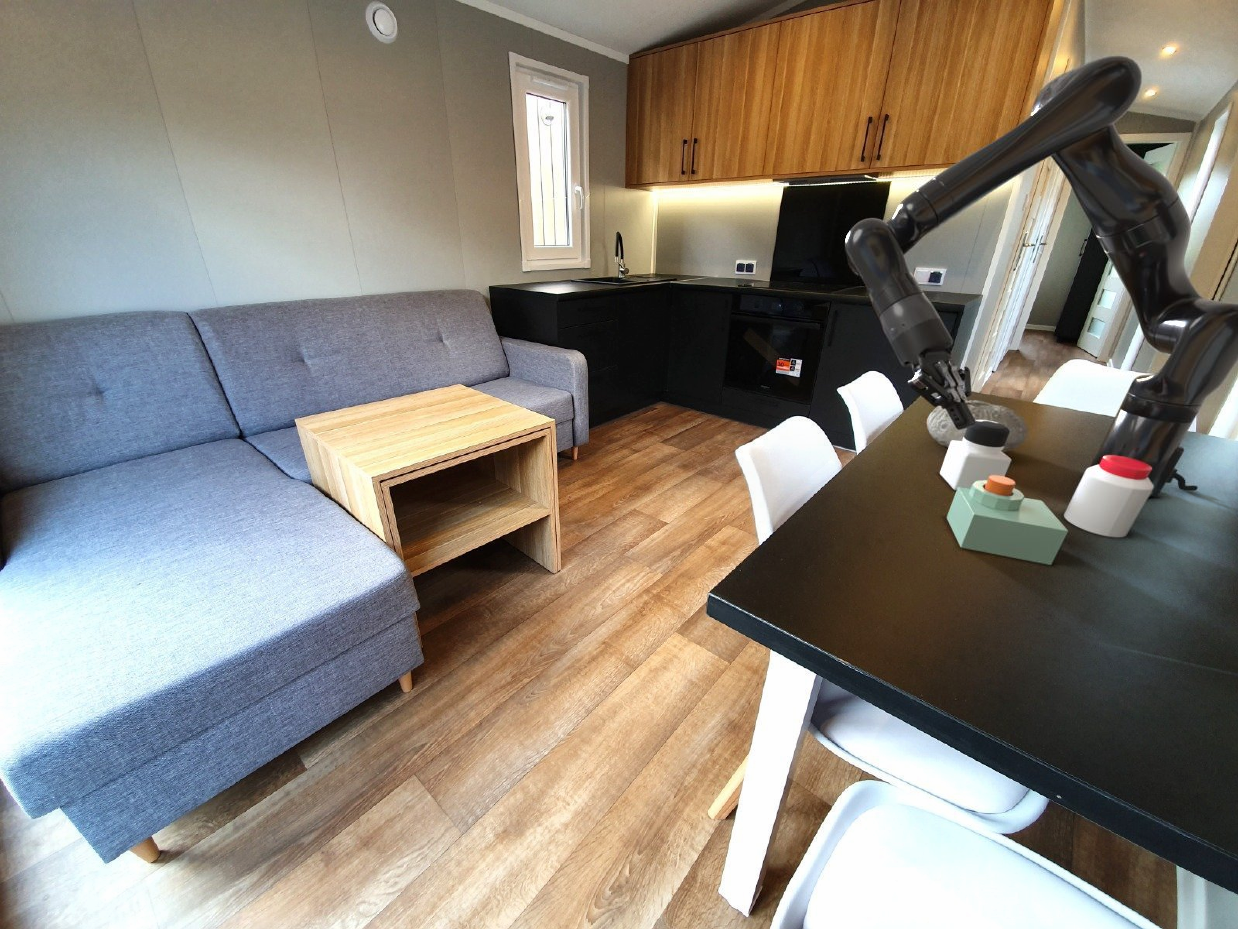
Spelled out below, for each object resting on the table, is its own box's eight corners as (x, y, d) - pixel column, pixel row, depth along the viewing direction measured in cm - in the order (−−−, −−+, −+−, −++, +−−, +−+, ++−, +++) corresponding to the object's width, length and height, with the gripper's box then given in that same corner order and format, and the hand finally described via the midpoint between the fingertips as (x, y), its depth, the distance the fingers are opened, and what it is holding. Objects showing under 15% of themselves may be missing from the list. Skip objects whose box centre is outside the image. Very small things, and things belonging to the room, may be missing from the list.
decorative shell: (915, 427, 117) (928, 387, 113) (1003, 440, 111) (1020, 398, 107) (928, 455, 102) (943, 410, 98) (1030, 471, 96) (1051, 424, 92)
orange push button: (1006, 489, 73) (1011, 477, 72) (1013, 499, 70) (1019, 486, 69) (981, 485, 74) (986, 473, 73) (987, 494, 71) (992, 482, 70)
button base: (1026, 532, 76) (1046, 489, 72) (1051, 565, 68) (1074, 519, 65) (946, 517, 79) (961, 476, 76) (960, 547, 71) (978, 503, 68)
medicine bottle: (997, 495, 86) (1024, 432, 81) (953, 490, 88) (976, 428, 82) (979, 478, 93) (1002, 418, 88) (938, 473, 94) (959, 414, 89)
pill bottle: (1111, 517, 81) (1143, 456, 76) (1138, 541, 74) (1176, 477, 70) (1055, 508, 83) (1083, 448, 78) (1076, 531, 76) (1109, 468, 72)
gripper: (909, 317, 72) (966, 422, 68) (960, 314, 78) (1016, 410, 74) (868, 346, 79) (918, 443, 74) (918, 341, 85) (968, 431, 80)
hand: (967, 426), depth 74 cm, fingers closed
